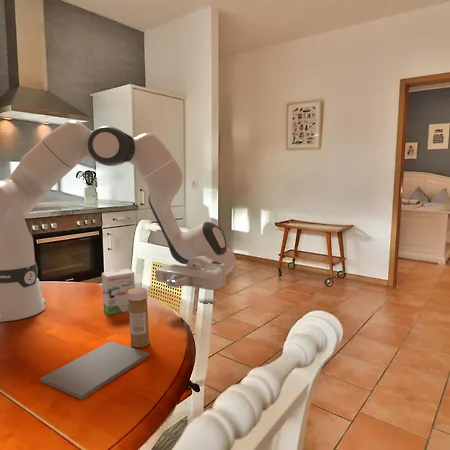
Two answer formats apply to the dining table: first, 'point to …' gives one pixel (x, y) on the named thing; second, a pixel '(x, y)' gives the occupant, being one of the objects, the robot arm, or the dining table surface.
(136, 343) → the sprinkles bottle
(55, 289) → the dining table surface
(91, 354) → the cutting board
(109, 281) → the ink box
